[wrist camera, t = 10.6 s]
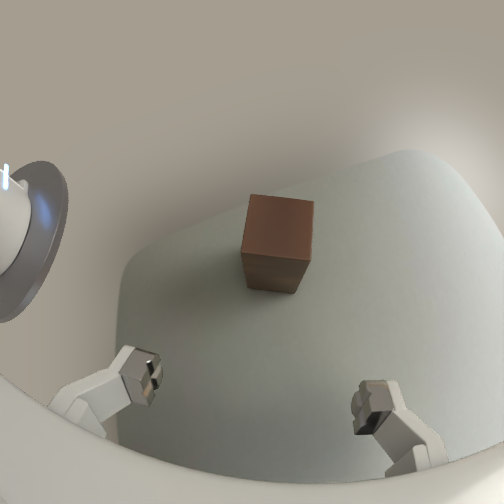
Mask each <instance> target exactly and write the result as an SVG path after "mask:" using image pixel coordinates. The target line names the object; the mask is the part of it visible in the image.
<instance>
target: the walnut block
mask: <svg viewBox="0 0 504 504" xmlns="http://www.w3.org/2000/svg"><path fill="white" fill-rule="evenodd" d="M313 215H314V201H307V200H300V199H292V198H283V197H275V196H265V195H255V194H251V195H250V201H249V206H248V212H247V218H246V223H245V229H244V235H243V241H242V247H241V257H242V262H243V267H244V272H245V277H246V282H247V287H248V288H253V289H261V290H269V291H277V292H286V293H295V292H296V290H297V288H298V286H299V284H300V282H301V280H302V278H303V276H304V274H305V272H306V270H307V268H308V265H309V263H310V261H311V252H312V235H313Z"/></svg>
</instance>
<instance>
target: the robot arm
mask: <svg viewBox="0 0 504 504" xmlns="http://www.w3.org/2000/svg"><path fill="white" fill-rule="evenodd" d="M30 216H31V203H30V200H29V197H28V182H27V181H26V180H21V181H18V182H15V181H14V180H13V179H12V178H10V177H9V176H8V165H7V164H5V166H4V172H3V171H2V170H1V169H0V275H1V274H3V273H4V272H5V271H6V270H7V269H8V268H9V266H10V265H11V264H12V262H13V261H14V259H15V257H16V256H17V254H18V252H19V250H20V248H21V246H22V244H23V241H24V239H25V236H26V233H27V230H28V226H29V222H30ZM159 362H160V356H159V354H156V353H152V352H149V351H146V350H142V349H139V348H136V347H132V346H129V345H125V346H123V347H122V349H121V350H120V352H119V353H118V354H117V356H116V357H115V359H114V360H113V362H112V363H111V364H110V366H109V367H108V369H107V370H106V369H102V370H100V371H98V372H96V373H93V374H91V375H89V376H87V377H84V378H82V379H80V380H77V381H75V382H73V383H70V384H68V385H66V386H63V387H61V389H60V390H59V391H58V393H57V394H56V395H55V397H54V398H53V399H52V401H51V402H50V403H49V405H48V406H47V407H45V406H44V405H42V404H41V403H39V402H38V401H36V400H35V399H33V398H32V397H30V396H29V395H28V394H26V393H25V392H23V391H22V390H21V389H19V388H18V387H17V386H15V385H14V384H13V383H11V382H10V381H9V380H7V379H6V378H5V377H4V376H3V375H1V374H0V504H504V441H503V442H500V443H498V444H496V445H494V446H492V447H489V448H487V449H485V450H482V451H480V452H477V453H475V454H472V455H470V456H467V457H464V458H461V459H459V460H456V461H453V462H449V459H448V456H447V452H446V448H445V445H444V441H443V439H442V438H441V437H440V436H439V435H438V434H436V433H435V432H434V431H433V430H432V429H431V428H430V427H429V426H427V425H426V424H425V423H424V422H423V421H422V420H421V419H420V418H419V417H417V416H416V415H415V414H414V413H413V412H412V411H411V410H410V409H406V407H405V403H404V400H403V397H402V394H401V391H400V388H399V385H398V382H397V381H396V380H363V381H362V382H361V383H360V385H359V391H357V392H356V393H355V394H354V396H353V398H352V403H351V412H352V414H353V415H354V416H355V417H356V418H355V420H354V421H353V427H354V435H368V434H373V436H374V437H375V439H376V440H377V441H378V443H379V444H380V445H381V446H382V448H383V449H384V450H385V452H386V453H387V454H388V455H389V457H390V458H391V459H392V461H393V462H394V463H395V464H393V465H392V466H391V467H390V468H389V469H387V470H386V472H385V478H380V479H372V480H364V481H354V482H341V483H282V482H268V481H258V480H249V479H242V478H235V477H229V476H223V475H218V474H213V473H208V472H203V471H199V470H195V469H191V468H187V467H183V466H179V465H176V464H172V463H169V462H165V461H162V460H159V459H156V458H153V457H150V456H147V455H144V454H141V453H139V452H136V451H133V450H131V449H128V448H125V447H123V446H121V445H118V444H116V443H113V442H111V441H109V440H107V439H105V437H106V436H107V432H106V430H105V429H104V427H103V426H102V424H101V422H103V421H104V420H106V419H107V418H109V417H111V416H112V415H114V414H115V413H117V412H118V411H120V410H121V409H123V408H124V407H126V406H127V405H129V404H130V403H131V402H134V403H137V404H140V405H144V406H147V407H150V405H151V403H152V401H153V399H154V397H155V393H154V390H156V389H158V388H159V387H160V385H161V382H162V378H163V370H162V367H161V366H160V365H159Z"/></svg>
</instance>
